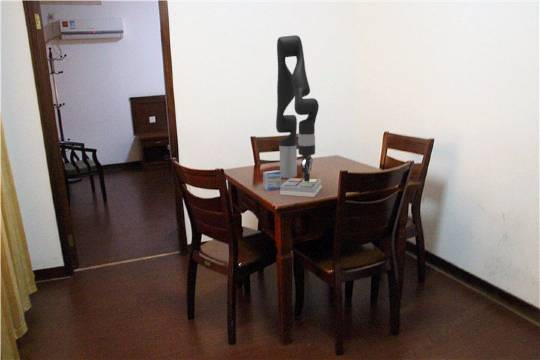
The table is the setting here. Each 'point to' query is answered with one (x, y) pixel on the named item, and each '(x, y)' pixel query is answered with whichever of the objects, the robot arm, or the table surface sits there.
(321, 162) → the table surface
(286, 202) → the table surface
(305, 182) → the cream key
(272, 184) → the medicine box
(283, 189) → the keypad
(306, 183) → the sage key
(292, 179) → the terracotta key
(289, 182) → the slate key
